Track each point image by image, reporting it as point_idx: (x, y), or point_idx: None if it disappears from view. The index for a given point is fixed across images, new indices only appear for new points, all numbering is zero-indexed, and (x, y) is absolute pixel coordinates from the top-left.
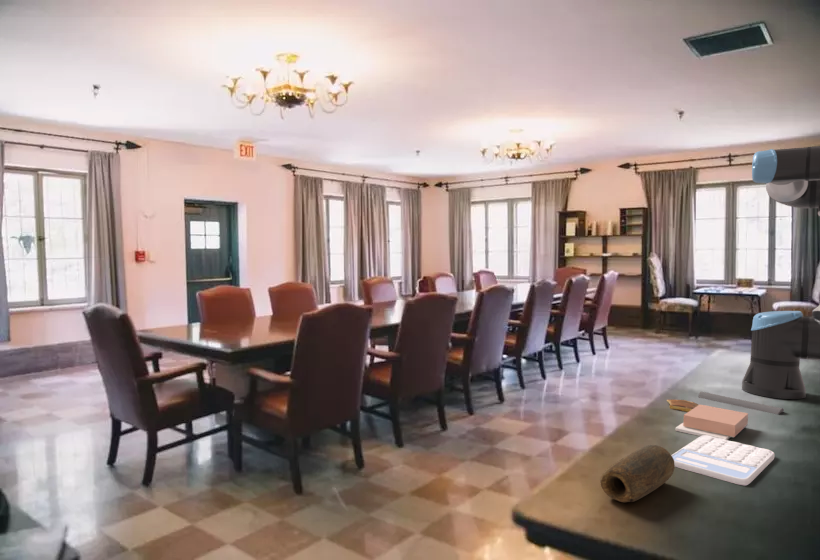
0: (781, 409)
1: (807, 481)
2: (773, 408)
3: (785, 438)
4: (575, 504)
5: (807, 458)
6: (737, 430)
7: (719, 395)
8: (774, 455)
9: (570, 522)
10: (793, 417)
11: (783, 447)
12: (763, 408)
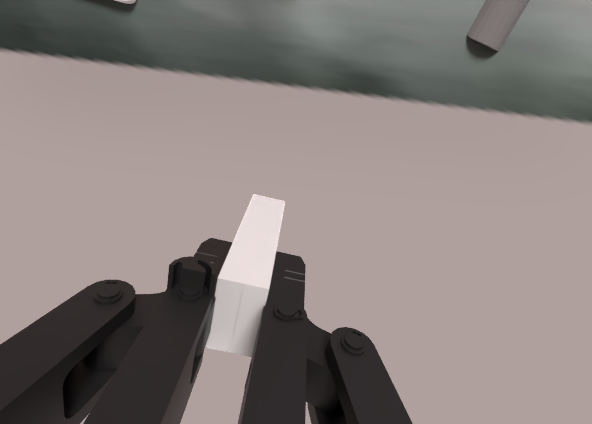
0: (484, 43)
1: (47, 47)
2: (487, 25)
3: (272, 35)
4: None
5: (167, 61)
6: None
7: None
8: (122, 2)
9: None
10: (453, 67)
11: (207, 26)
12: (492, 2)
